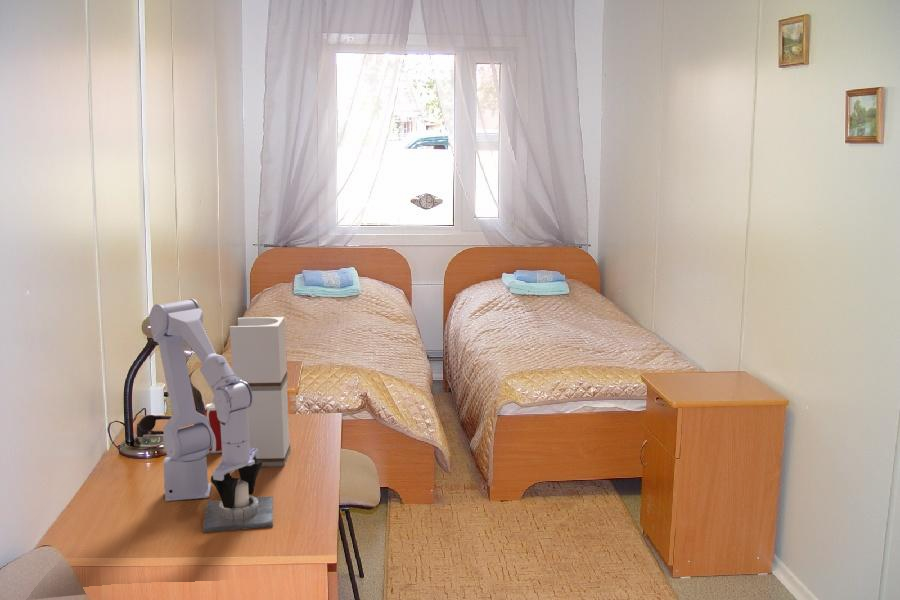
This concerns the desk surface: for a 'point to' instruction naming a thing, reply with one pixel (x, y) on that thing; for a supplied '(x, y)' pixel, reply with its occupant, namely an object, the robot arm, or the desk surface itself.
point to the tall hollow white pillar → (264, 384)
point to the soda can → (214, 428)
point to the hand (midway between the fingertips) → (238, 500)
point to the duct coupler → (241, 494)
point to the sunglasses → (149, 425)
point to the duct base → (239, 515)
